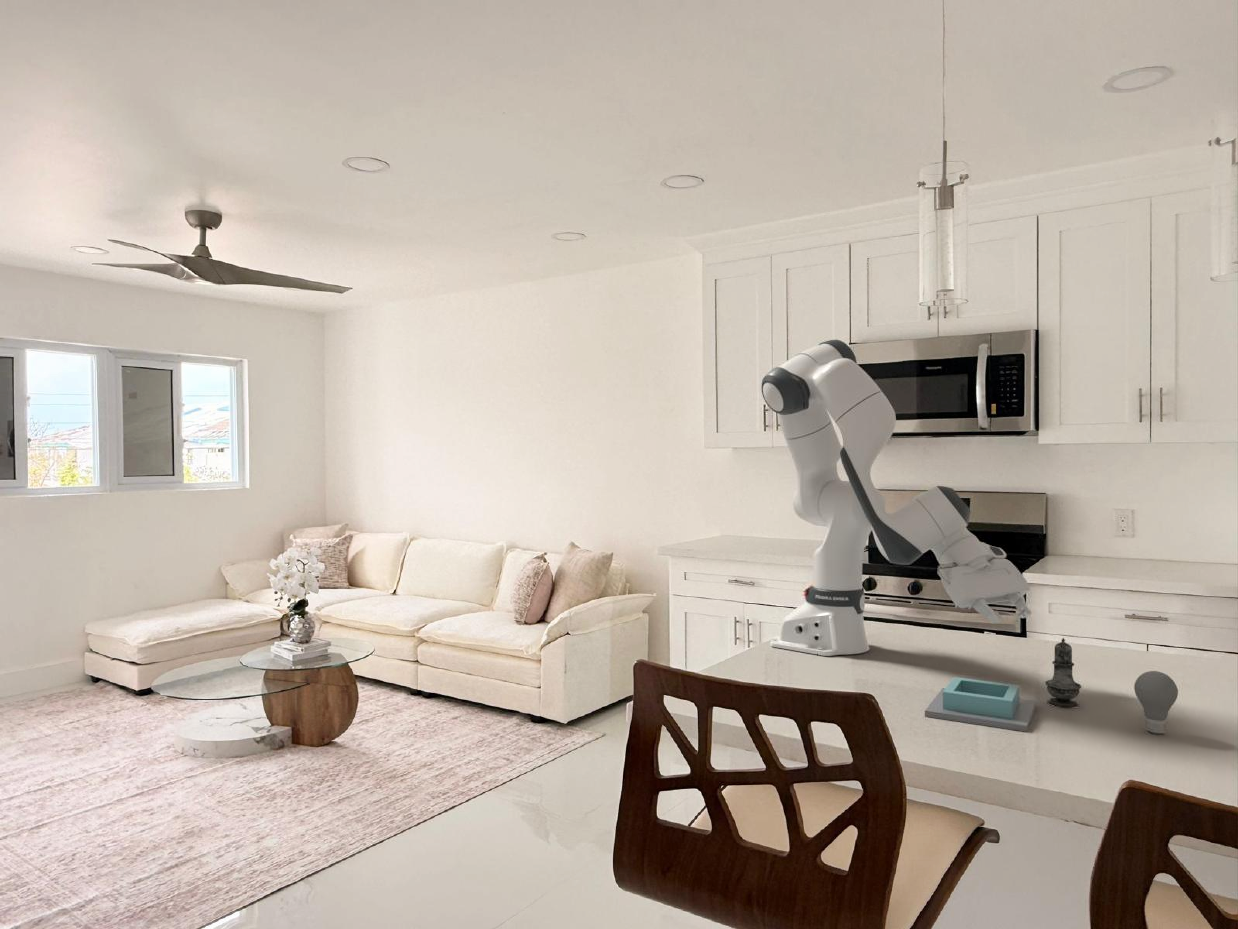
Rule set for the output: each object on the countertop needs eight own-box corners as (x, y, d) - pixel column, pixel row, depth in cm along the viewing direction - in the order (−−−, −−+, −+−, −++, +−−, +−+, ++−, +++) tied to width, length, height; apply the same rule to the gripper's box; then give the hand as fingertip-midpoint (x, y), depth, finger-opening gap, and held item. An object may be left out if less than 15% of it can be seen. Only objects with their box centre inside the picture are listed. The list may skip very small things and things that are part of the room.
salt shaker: (1039, 703, 154) (1039, 637, 154) (1053, 697, 158) (1053, 633, 158) (1073, 711, 150) (1073, 643, 149) (1086, 704, 153) (1087, 638, 153)
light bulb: (1168, 741, 134) (1168, 678, 134) (1127, 731, 139) (1127, 670, 138) (1184, 734, 137) (1184, 672, 137) (1143, 724, 142) (1144, 665, 142)
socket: (924, 716, 147) (924, 693, 147) (942, 693, 161) (942, 672, 161) (1026, 731, 139) (1026, 707, 139) (1036, 706, 152) (1036, 684, 152)
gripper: (943, 555, 161) (989, 614, 153) (1007, 548, 172) (1053, 603, 164) (923, 575, 165) (967, 635, 157) (987, 567, 176) (1031, 622, 168)
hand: (1012, 618), depth 161 cm, fingers open, 8 cm apart
